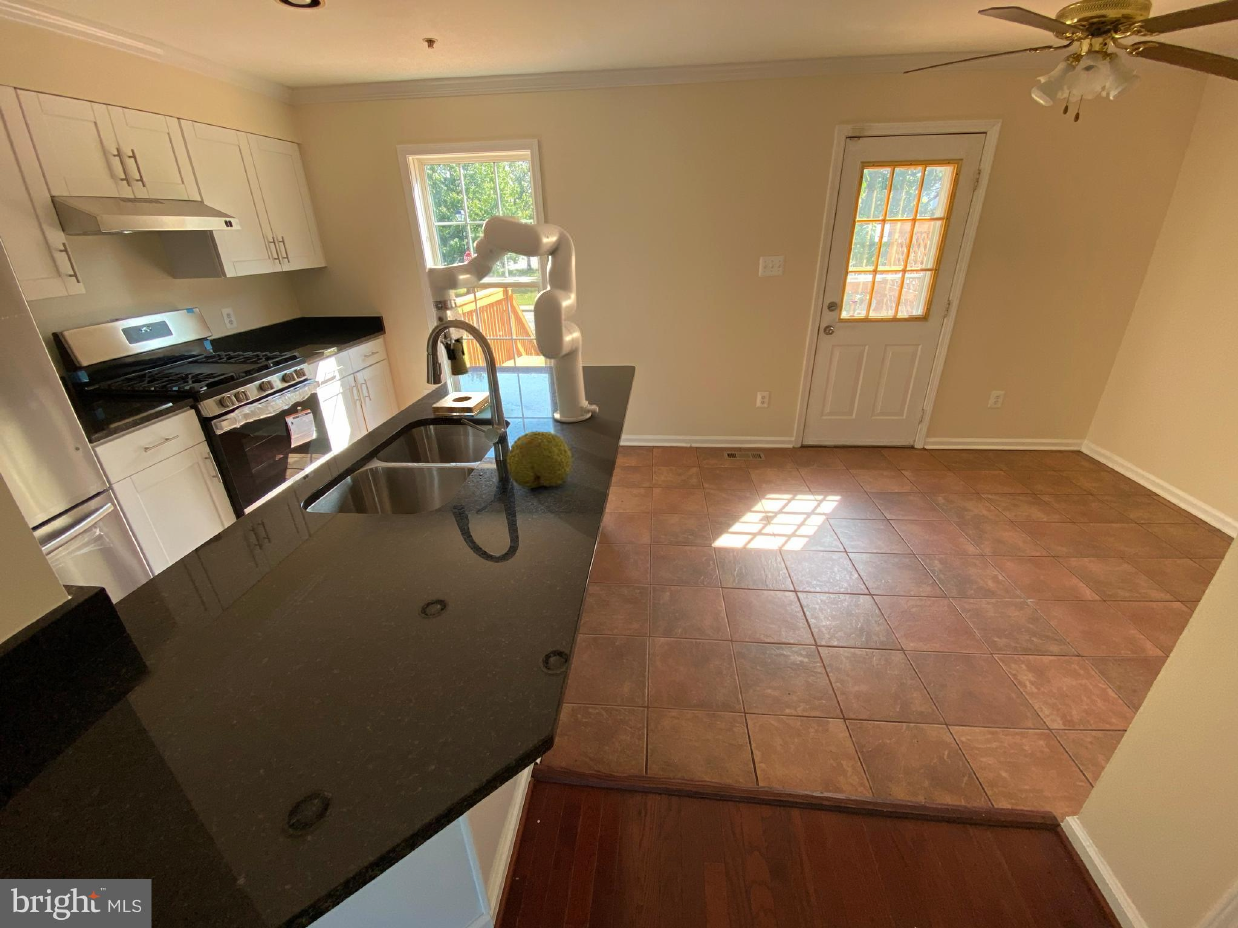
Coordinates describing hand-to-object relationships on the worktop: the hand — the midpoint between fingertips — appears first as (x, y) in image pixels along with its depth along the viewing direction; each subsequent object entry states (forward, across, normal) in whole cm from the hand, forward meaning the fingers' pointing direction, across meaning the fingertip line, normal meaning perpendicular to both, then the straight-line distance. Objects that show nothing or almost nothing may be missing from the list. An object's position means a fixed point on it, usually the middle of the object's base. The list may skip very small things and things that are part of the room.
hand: (456, 357), depth 178 cm
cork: (+6, 0, 0) cm, 6 cm away
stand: (+19, -1, +1) cm, 19 cm away
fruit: (+20, -55, -49) cm, 77 cm away
